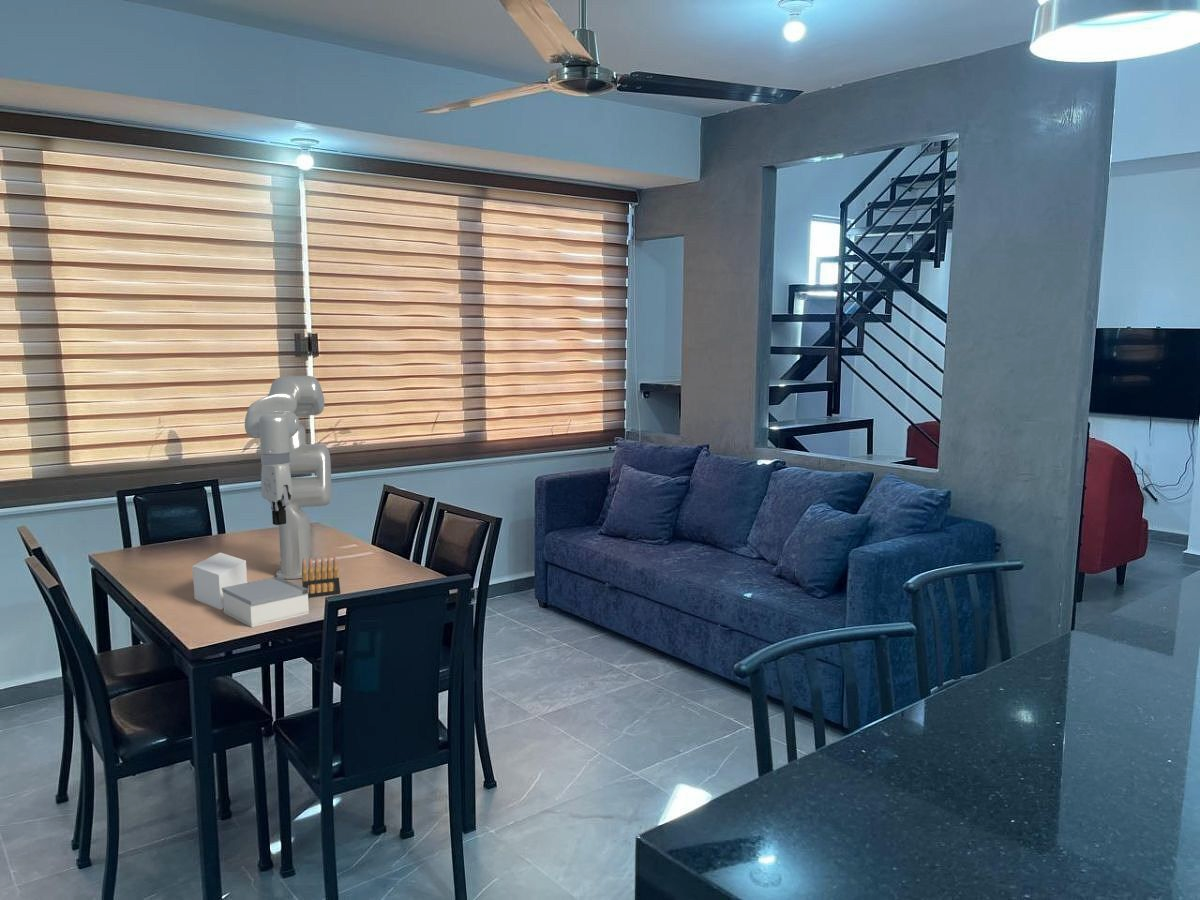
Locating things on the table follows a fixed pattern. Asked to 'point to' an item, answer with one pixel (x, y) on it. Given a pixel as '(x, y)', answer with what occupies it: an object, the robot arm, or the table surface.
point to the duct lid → (264, 590)
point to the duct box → (265, 609)
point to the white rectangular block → (217, 578)
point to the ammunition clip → (321, 577)
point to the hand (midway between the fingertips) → (279, 523)
